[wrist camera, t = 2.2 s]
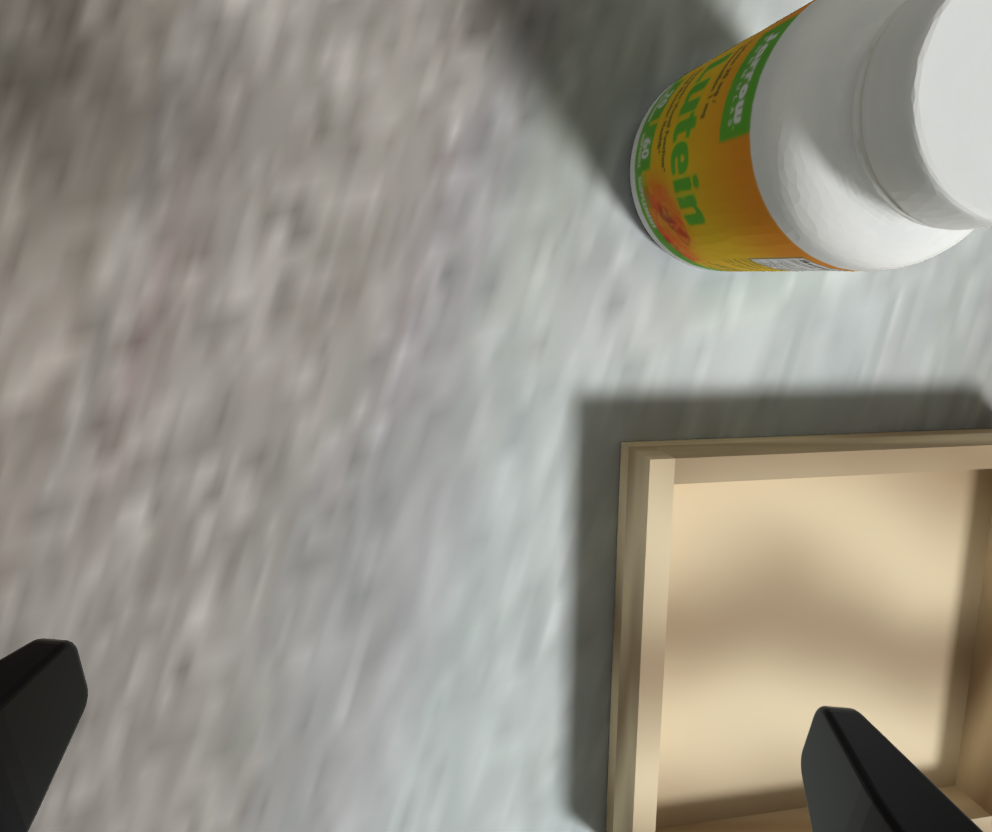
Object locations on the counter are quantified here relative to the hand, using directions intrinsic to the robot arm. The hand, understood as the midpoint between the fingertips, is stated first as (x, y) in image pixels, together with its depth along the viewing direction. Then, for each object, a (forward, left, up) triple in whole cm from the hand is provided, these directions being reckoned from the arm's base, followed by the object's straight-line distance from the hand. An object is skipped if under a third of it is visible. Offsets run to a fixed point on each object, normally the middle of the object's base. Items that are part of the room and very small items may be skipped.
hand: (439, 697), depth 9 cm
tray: (-6, -13, -12) cm, 19 cm away
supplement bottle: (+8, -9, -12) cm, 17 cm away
